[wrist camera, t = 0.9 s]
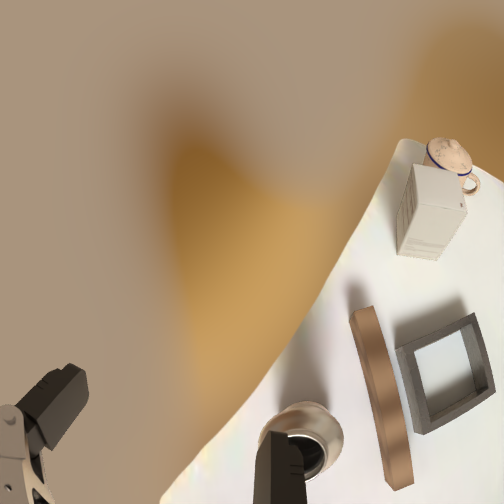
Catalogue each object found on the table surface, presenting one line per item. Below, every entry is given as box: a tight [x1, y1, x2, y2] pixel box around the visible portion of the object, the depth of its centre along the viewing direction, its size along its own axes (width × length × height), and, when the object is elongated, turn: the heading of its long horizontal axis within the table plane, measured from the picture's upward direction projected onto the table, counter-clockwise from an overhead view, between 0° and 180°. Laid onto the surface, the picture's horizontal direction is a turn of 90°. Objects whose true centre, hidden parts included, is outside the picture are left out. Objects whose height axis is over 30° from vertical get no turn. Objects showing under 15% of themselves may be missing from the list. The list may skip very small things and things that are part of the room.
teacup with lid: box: [423, 138, 480, 196], centre depth 36 cm, size 12×9×12 cm
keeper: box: [395, 313, 496, 435], centre depth 25 cm, size 12×12×4 cm
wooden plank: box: [349, 306, 414, 491], centre depth 26 cm, size 24×2×5 cm, turn 10°
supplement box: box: [397, 163, 467, 261], centre depth 32 cm, size 7×7×13 cm
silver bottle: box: [258, 401, 344, 483], centre depth 20 cm, size 6×7×20 cm
